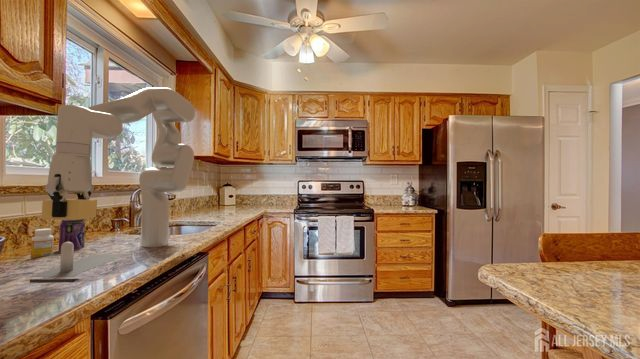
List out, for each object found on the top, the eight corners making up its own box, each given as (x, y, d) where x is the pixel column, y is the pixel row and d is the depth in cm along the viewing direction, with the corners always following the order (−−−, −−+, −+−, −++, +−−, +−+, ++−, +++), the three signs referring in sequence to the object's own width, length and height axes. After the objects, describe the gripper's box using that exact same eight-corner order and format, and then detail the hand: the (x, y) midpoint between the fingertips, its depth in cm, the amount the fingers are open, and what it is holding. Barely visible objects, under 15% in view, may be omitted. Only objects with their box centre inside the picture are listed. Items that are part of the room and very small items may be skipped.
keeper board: (94, 258, 97) (95, 230, 97) (125, 258, 98) (126, 230, 98) (29, 282, 73) (31, 245, 74) (72, 282, 74) (73, 245, 74)
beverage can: (72, 254, 102) (73, 220, 102) (52, 254, 102) (54, 219, 103) (89, 250, 109) (90, 218, 110) (70, 249, 109) (71, 217, 110)
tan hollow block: (62, 216, 83) (63, 199, 83) (96, 217, 84) (97, 199, 84) (41, 219, 76) (42, 199, 76) (78, 219, 77) (79, 200, 77)
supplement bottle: (36, 257, 97) (37, 228, 98) (56, 256, 99) (57, 227, 99) (26, 261, 92) (27, 230, 92) (48, 260, 94) (49, 230, 94)
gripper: (82, 154, 89) (78, 213, 88) (31, 145, 72) (26, 218, 71) (108, 155, 90) (105, 213, 89) (63, 146, 72) (59, 219, 72)
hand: (70, 215), depth 80 cm, fingers closed on tan hollow block, 7 cm apart
